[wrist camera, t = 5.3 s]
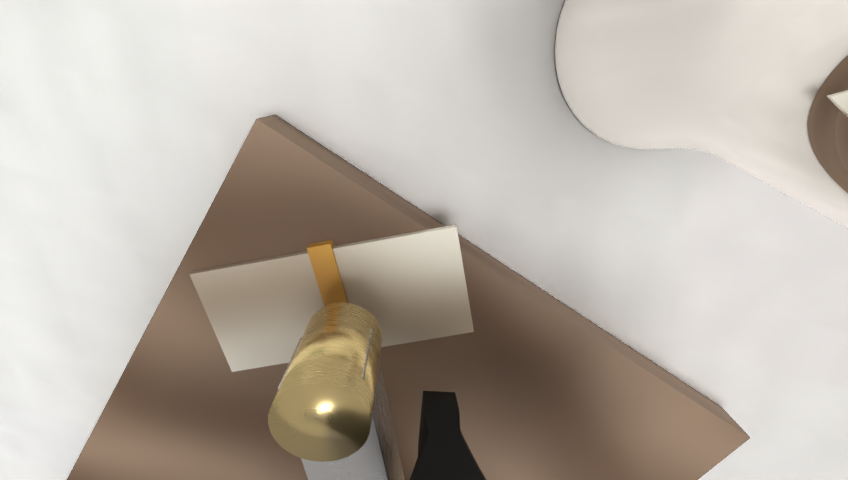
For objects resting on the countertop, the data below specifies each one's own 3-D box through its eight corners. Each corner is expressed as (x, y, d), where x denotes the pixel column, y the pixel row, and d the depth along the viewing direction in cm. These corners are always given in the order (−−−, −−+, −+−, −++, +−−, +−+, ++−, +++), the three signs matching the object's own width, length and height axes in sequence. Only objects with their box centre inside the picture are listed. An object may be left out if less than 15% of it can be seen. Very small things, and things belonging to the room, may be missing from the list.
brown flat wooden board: (436, 648, 22) (438, 694, 21) (63, 508, 18) (26, 552, 16) (733, 397, 16) (769, 434, 15) (284, 97, 12) (262, 99, 10)
